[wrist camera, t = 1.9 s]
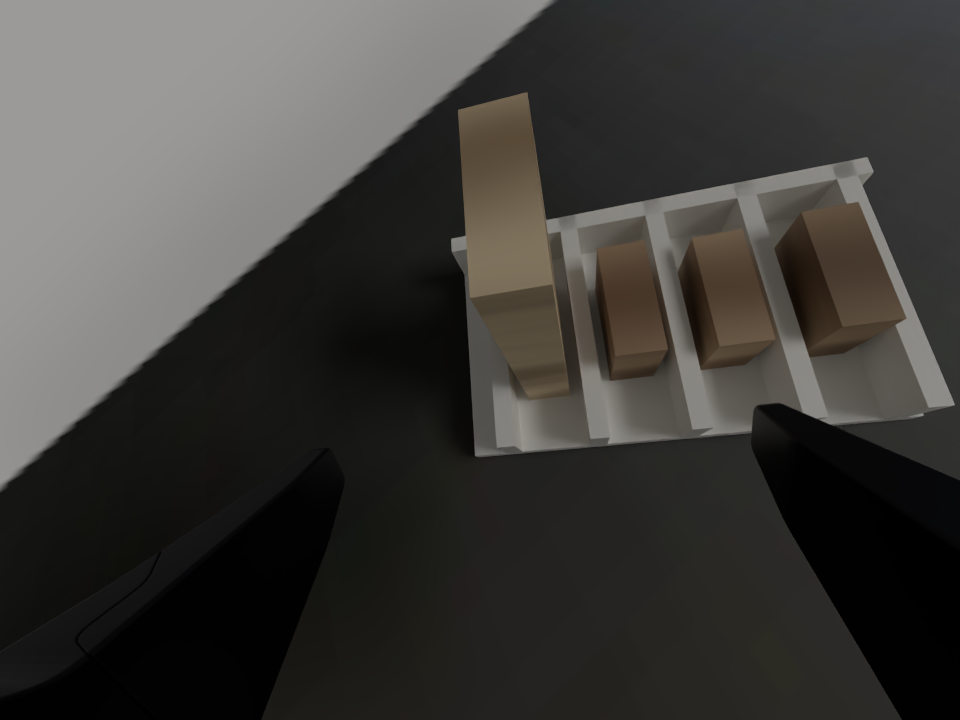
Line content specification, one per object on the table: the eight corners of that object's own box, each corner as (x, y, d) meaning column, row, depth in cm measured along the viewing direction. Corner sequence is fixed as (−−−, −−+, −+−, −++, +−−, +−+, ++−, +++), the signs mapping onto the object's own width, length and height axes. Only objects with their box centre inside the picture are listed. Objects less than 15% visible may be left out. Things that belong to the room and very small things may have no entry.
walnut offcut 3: (843, 353, 19) (906, 318, 15) (793, 359, 19) (842, 326, 16) (809, 254, 20) (858, 201, 17) (763, 262, 21) (801, 211, 17)
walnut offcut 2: (744, 364, 20) (775, 339, 16) (698, 370, 20) (719, 346, 17) (718, 269, 21) (742, 228, 18) (676, 276, 22) (691, 237, 18)
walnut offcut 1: (653, 375, 21) (668, 349, 17) (610, 380, 21) (615, 356, 17) (634, 282, 22) (644, 240, 18) (595, 289, 22) (596, 248, 19)
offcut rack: (910, 418, 18) (974, 403, 15) (479, 457, 22) (461, 450, 19) (827, 204, 22) (867, 157, 19) (467, 269, 26) (451, 239, 23)
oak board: (570, 395, 21) (552, 284, 10) (530, 400, 22) (469, 297, 10) (555, 287, 23) (527, 92, 12) (519, 293, 23) (458, 110, 12)
